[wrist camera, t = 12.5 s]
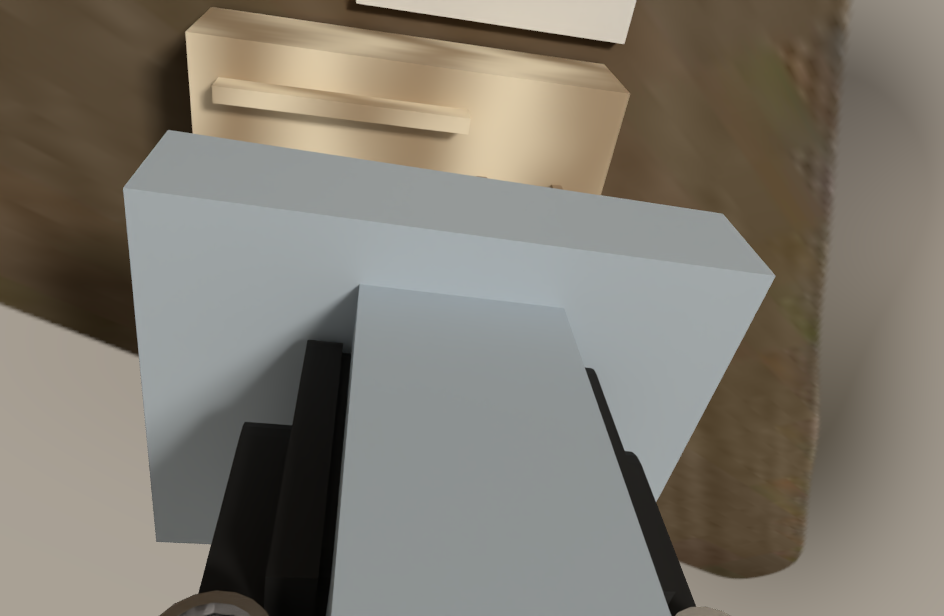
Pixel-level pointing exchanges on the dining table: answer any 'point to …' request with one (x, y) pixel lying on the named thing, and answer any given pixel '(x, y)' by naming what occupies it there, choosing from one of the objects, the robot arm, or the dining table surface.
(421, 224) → the cover
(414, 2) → the mat
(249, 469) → the robot arm
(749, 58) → the dining table surface
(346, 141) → the tan box base
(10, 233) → the dining table surface
